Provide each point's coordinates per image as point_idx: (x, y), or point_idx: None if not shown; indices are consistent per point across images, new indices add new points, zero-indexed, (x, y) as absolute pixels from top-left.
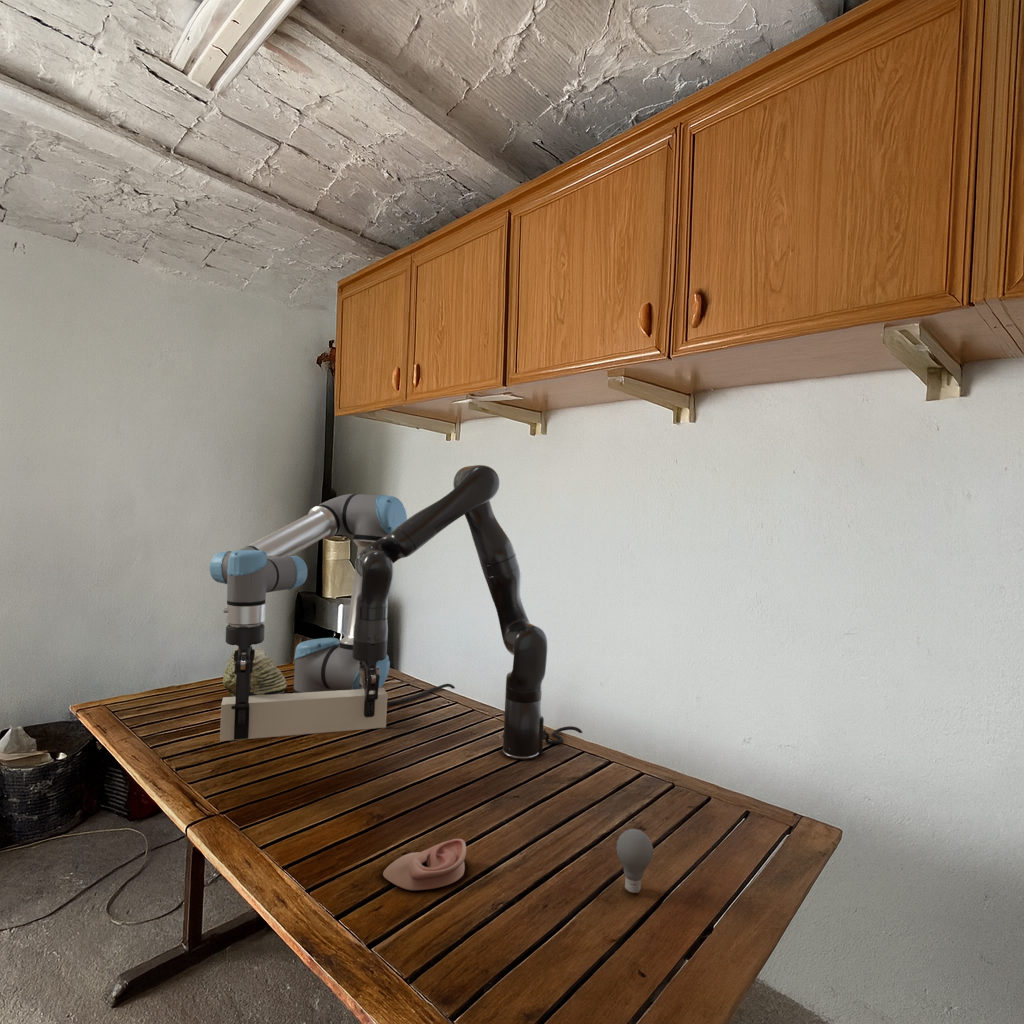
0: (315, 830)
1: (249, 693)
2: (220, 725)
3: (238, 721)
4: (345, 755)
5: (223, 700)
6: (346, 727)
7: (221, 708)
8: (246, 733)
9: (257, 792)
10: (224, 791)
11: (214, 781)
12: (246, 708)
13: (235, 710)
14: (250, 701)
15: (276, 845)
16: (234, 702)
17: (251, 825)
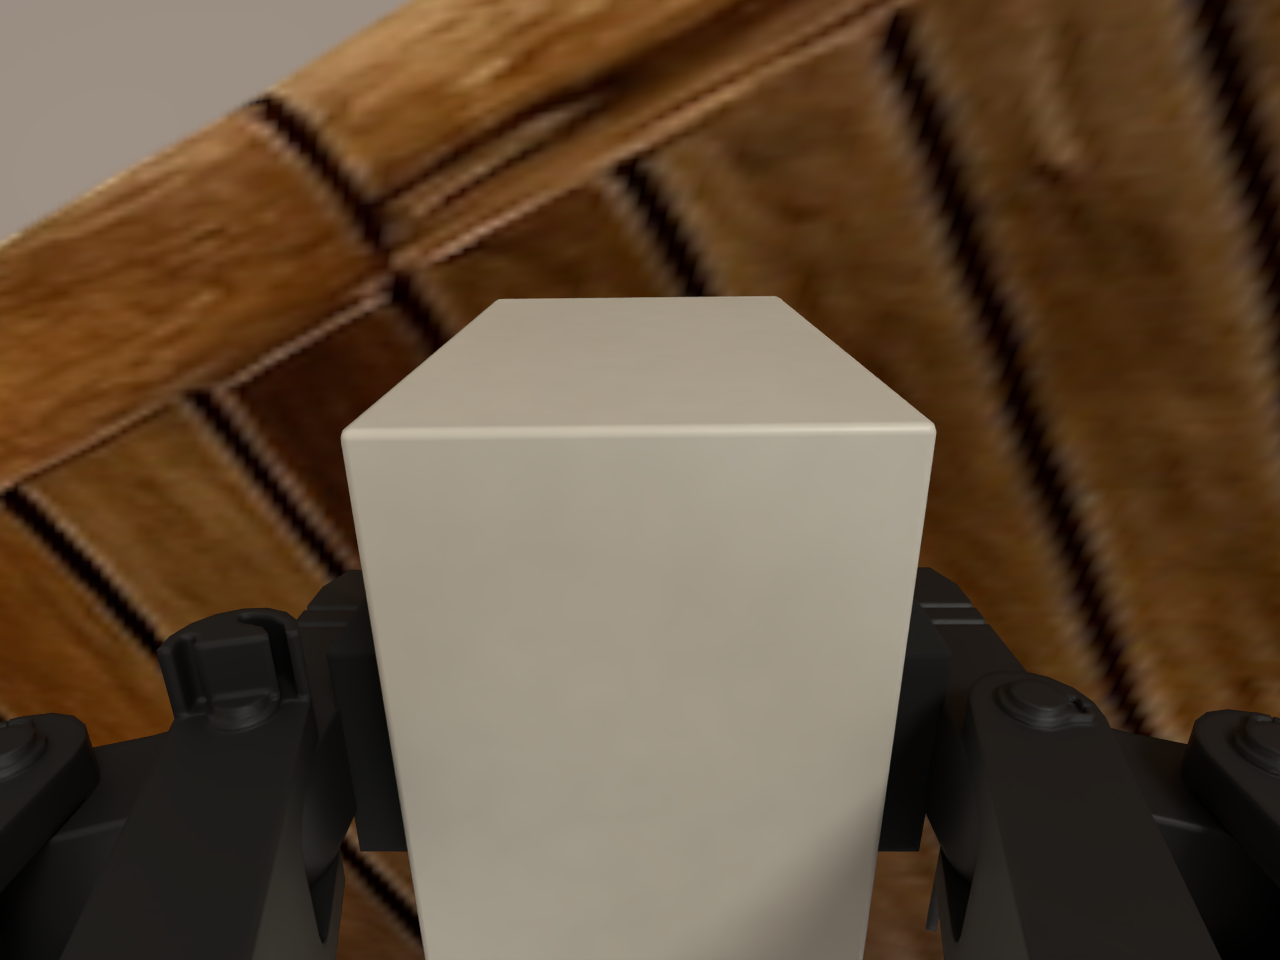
0: (164, 707)
1: (941, 911)
2: (461, 332)
3: (316, 603)
4: None
5: (670, 453)
6: None
7: (372, 410)
8: None
9: None
10: (686, 277)
11: (861, 201)
12: (356, 804)
13: (341, 638)
14: (491, 914)
15: (32, 557)
16: (465, 678)
17: (234, 445)
